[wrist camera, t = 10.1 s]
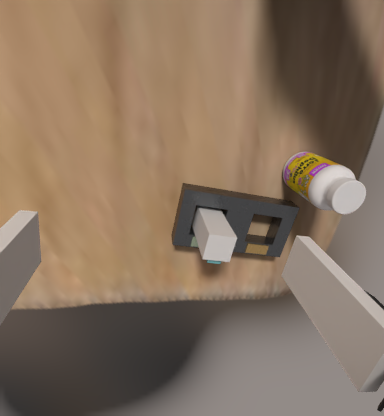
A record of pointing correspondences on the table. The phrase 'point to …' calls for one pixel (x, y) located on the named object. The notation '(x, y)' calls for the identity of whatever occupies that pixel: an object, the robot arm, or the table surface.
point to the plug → (213, 234)
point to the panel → (236, 218)
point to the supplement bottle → (324, 183)
